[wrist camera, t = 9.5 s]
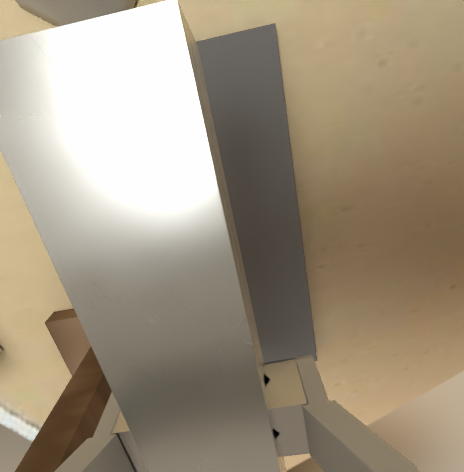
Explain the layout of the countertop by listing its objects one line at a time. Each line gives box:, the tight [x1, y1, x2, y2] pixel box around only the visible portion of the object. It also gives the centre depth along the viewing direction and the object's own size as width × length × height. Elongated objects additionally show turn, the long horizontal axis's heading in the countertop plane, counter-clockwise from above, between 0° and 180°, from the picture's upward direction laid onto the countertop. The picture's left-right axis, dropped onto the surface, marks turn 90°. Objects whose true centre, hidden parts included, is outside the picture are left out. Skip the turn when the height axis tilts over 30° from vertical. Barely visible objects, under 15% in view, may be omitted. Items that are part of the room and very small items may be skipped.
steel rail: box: [0, 0, 286, 472], centre depth 9 cm, size 3×18×3 cm, turn 11°
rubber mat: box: [196, 23, 317, 363], centre depth 20 cm, size 9×22×1 cm, turn 11°
